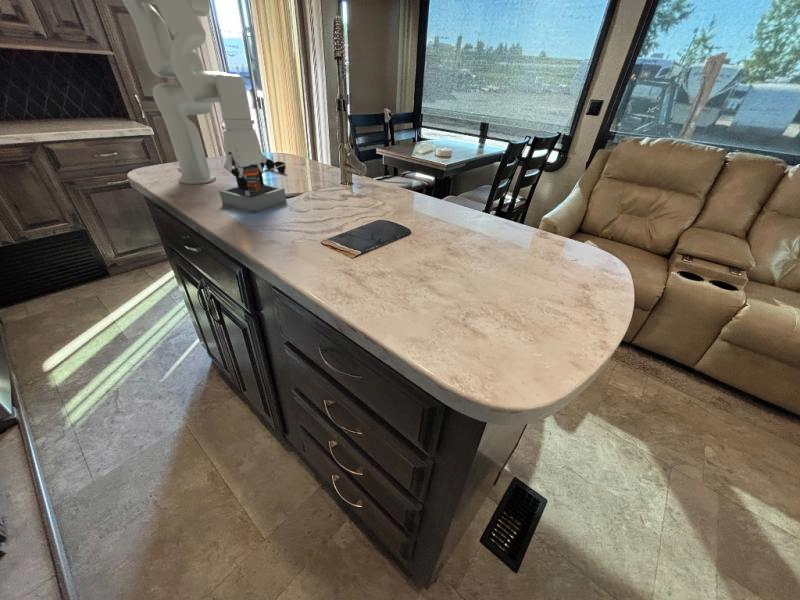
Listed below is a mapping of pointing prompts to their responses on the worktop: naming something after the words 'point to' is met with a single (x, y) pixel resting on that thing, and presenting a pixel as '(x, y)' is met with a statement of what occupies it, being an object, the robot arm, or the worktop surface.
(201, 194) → the worktop surface
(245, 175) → the supplement bottle
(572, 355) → the worktop surface
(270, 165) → the sunglasses
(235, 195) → the bin
